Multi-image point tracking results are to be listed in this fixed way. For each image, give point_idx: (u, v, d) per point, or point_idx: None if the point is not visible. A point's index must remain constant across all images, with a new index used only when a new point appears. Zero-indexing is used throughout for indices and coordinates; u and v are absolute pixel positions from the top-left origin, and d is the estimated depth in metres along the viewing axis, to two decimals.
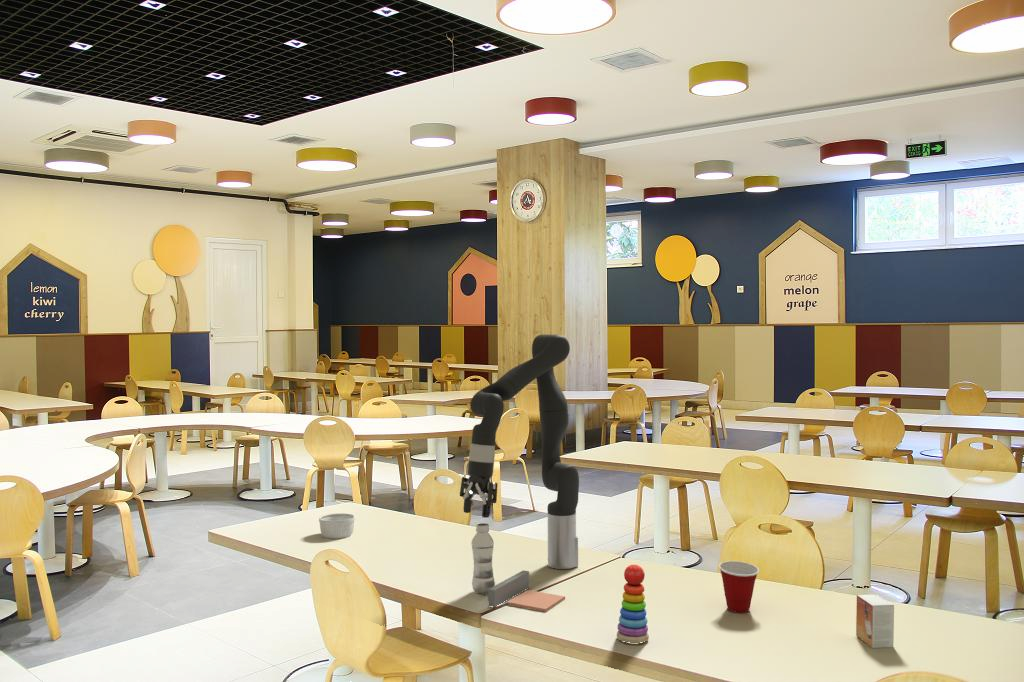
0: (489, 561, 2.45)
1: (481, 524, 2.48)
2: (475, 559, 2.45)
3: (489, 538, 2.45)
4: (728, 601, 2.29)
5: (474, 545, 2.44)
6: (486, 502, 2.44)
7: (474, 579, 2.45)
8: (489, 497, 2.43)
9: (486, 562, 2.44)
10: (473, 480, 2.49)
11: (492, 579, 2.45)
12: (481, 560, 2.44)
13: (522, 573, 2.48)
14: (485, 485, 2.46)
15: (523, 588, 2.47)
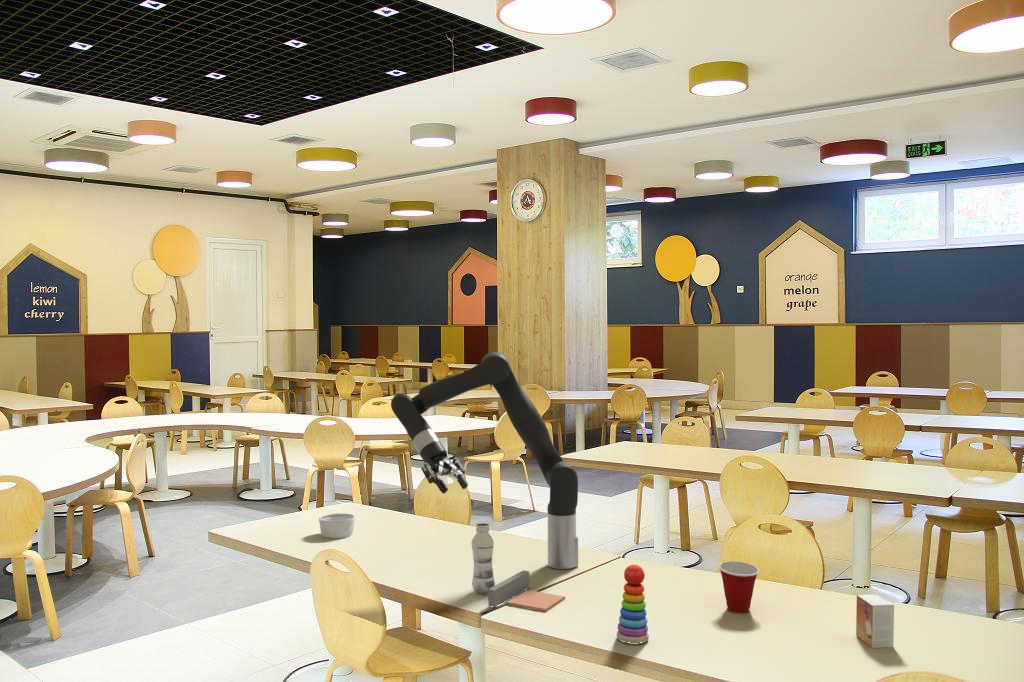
0: (489, 561, 2.45)
1: (481, 524, 2.48)
2: (475, 559, 2.45)
3: (489, 538, 2.45)
4: (728, 601, 2.29)
5: (474, 545, 2.44)
6: None
7: (474, 579, 2.45)
8: None
9: (486, 562, 2.44)
10: None
11: (492, 579, 2.45)
12: (481, 560, 2.44)
13: (522, 573, 2.48)
14: None
15: (523, 588, 2.47)
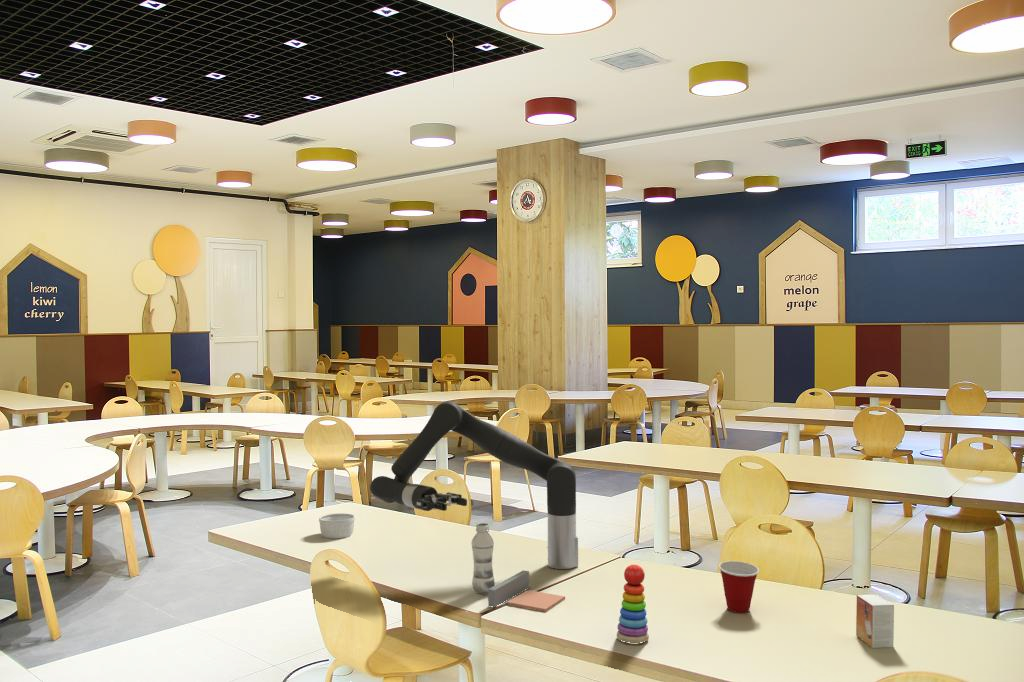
0: (489, 561, 2.45)
1: (481, 524, 2.48)
2: (475, 559, 2.45)
3: (489, 538, 2.45)
4: (728, 601, 2.29)
5: (474, 545, 2.44)
6: (433, 508, 2.52)
7: (474, 579, 2.45)
8: None
9: (486, 562, 2.44)
10: None
11: (492, 579, 2.45)
12: (481, 560, 2.44)
13: (522, 573, 2.48)
14: (425, 505, 2.56)
15: (523, 588, 2.47)
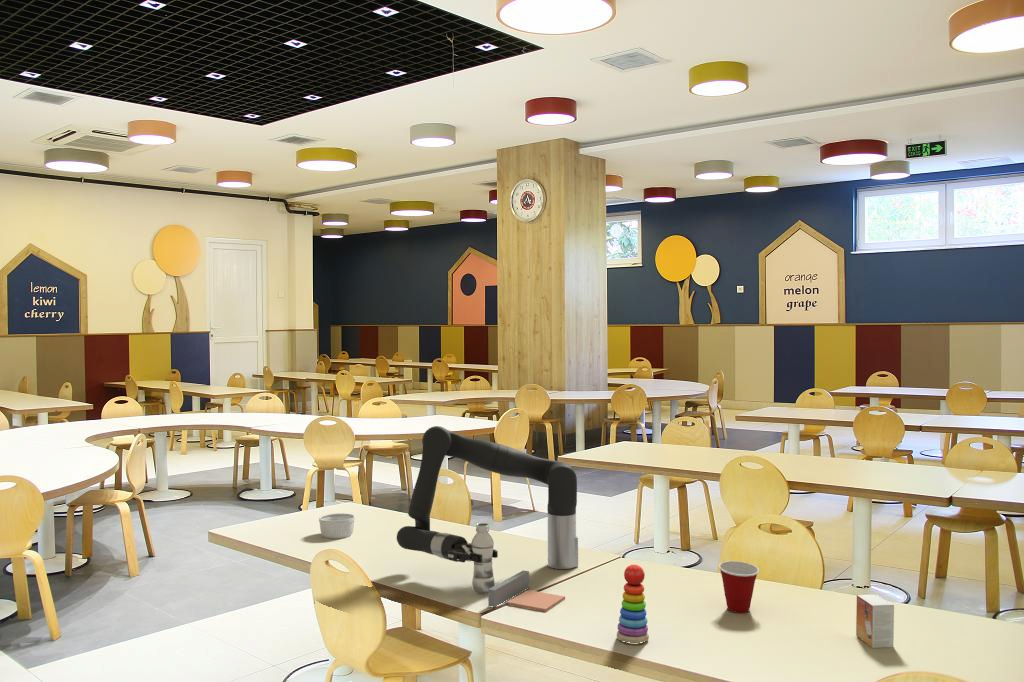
0: (489, 561, 2.45)
1: (481, 524, 2.48)
2: None
3: (489, 538, 2.45)
4: (728, 601, 2.29)
5: (474, 545, 2.44)
6: (467, 560, 2.45)
7: (474, 579, 2.45)
8: None
9: (486, 562, 2.44)
10: None
11: (492, 579, 2.45)
12: None
13: (522, 573, 2.48)
14: None
15: (523, 588, 2.47)
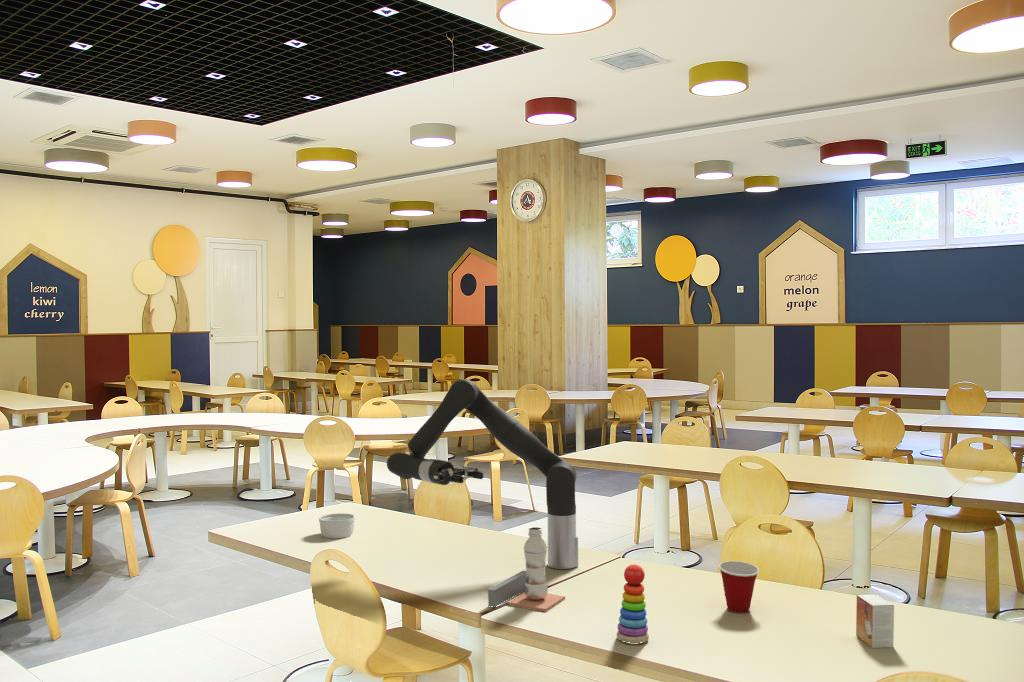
0: (542, 566, 2.36)
1: (533, 528, 2.39)
2: (528, 564, 2.36)
3: (542, 543, 2.36)
4: (728, 601, 2.29)
5: (527, 550, 2.36)
6: (450, 481, 2.55)
7: (527, 585, 2.36)
8: None
9: (539, 567, 2.36)
10: None
11: (545, 585, 2.37)
12: (534, 565, 2.35)
13: (522, 573, 2.48)
14: (442, 478, 2.59)
15: (523, 588, 2.47)
